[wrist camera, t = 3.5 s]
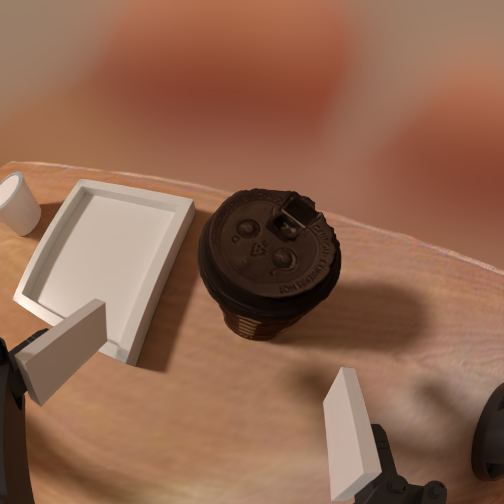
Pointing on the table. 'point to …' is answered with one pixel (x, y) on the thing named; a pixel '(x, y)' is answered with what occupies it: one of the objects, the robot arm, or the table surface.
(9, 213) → the shot glass
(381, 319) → the table surface
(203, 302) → the table surface
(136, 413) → the table surface
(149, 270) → the tray
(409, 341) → the table surface
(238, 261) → the coffee cup
